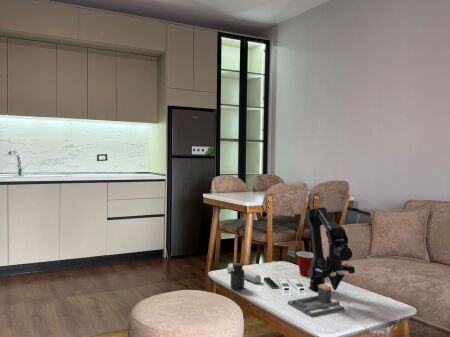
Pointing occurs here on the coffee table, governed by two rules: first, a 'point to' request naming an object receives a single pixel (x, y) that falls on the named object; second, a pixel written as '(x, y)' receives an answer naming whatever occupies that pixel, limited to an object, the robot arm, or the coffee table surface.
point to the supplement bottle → (237, 277)
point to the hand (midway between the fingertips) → (334, 289)
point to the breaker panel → (315, 306)
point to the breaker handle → (324, 293)
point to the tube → (247, 274)
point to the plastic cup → (304, 262)
